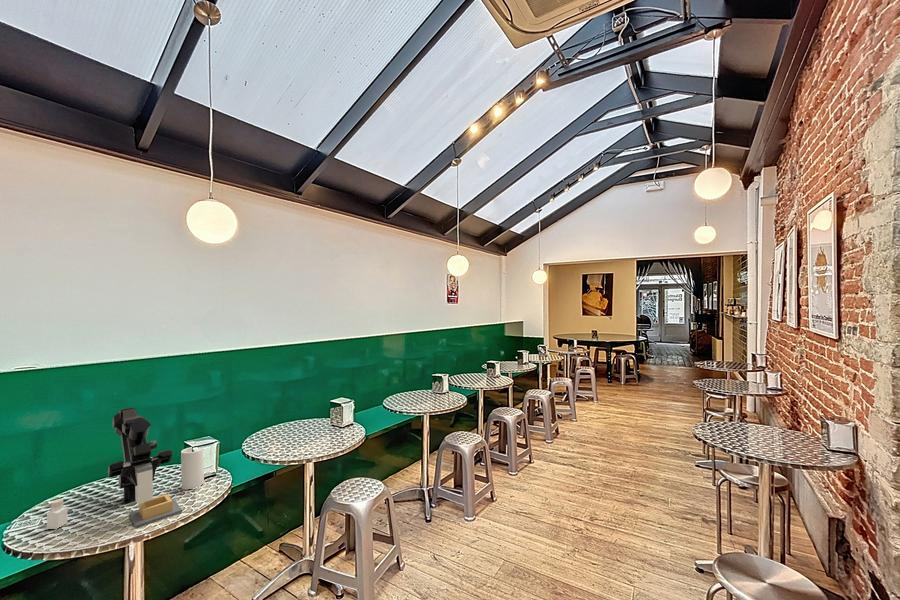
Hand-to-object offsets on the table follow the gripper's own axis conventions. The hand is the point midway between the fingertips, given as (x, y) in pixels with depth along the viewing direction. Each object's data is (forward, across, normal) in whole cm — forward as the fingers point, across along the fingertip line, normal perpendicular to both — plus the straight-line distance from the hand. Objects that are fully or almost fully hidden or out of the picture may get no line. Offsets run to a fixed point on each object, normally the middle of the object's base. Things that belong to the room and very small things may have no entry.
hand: (144, 483), depth 143 cm
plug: (+4, 0, +6) cm, 7 cm away
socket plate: (+8, +4, +11) cm, 14 cm away
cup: (-4, +20, +23) cm, 31 cm away
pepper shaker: (-4, -22, +24) cm, 33 cm away
